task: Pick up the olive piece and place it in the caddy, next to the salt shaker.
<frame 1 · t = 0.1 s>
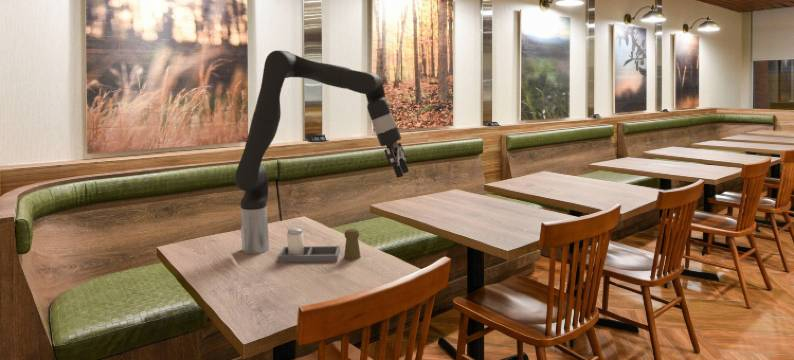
hand: (403, 174, 184), 31 cm above the table, tool tilted 20°, fingers open, 8 cm apart
salt shaker: (296, 257, 195), point 1 cm above the table, touching caddy
caddy: (310, 258, 195), on the table
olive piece: (352, 259, 195), on the table
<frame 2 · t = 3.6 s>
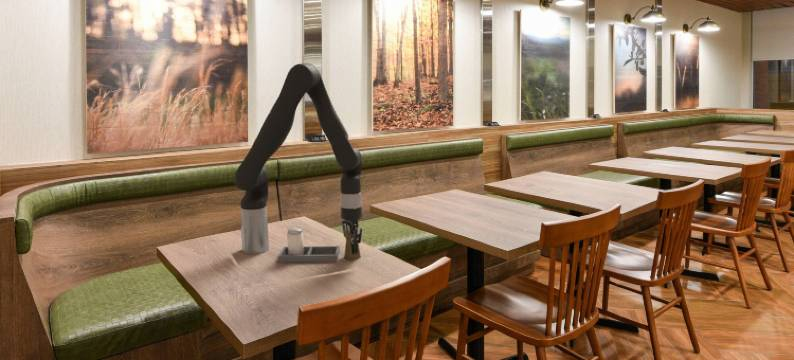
hand: (352, 251, 194), 3 cm above the table, tool pointing down, fingers closed on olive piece, 4 cm apart
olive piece: (352, 259, 195), on the table, touching gripper
everything else where it was.
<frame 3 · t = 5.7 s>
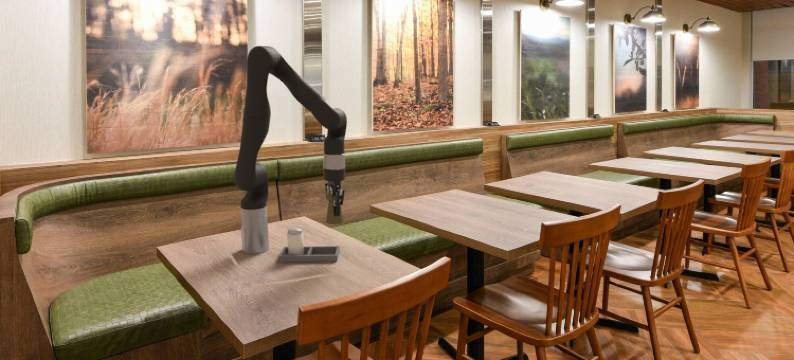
hand: (334, 214, 192), 16 cm above the table, tool pointing down, fingers closed on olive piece, 4 cm apart
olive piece: (334, 222, 193), point 13 cm above the table, touching gripper
everything else where it was.
when the fingers open (5 cm above the table, at t = 8.0 s): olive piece drops 1 cm, resting on caddy.
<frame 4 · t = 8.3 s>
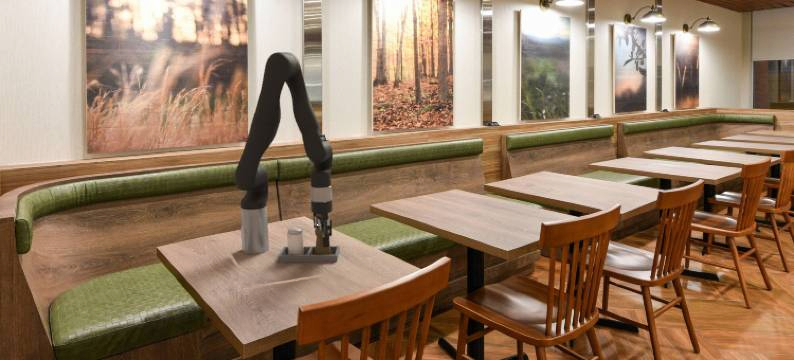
hand: (323, 243, 194), 6 cm above the table, tool pointing down, fingers open, 6 cm apart
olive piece: (323, 257, 195), point 1 cm above the table, touching caddy
everything else where it was.
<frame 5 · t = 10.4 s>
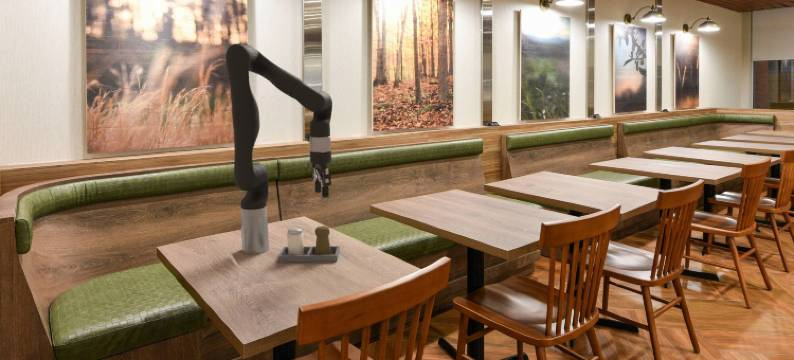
hand: (321, 194, 193), 23 cm above the table, tool pointing down, fingers open, 8 cm apart
nothing on the table moved.
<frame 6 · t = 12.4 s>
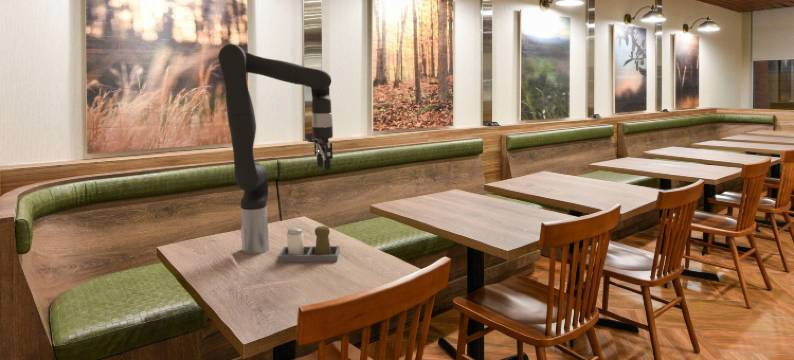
hand: (323, 168, 206), 30 cm above the table, tool pointing down, fingers open, 8 cm apart
nothing on the table moved.
at the end: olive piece 0.2 cm from the target spot, point 0.6 cm above the table; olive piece tilted 0°; salt shaker moved 0.0 cm from its start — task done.
